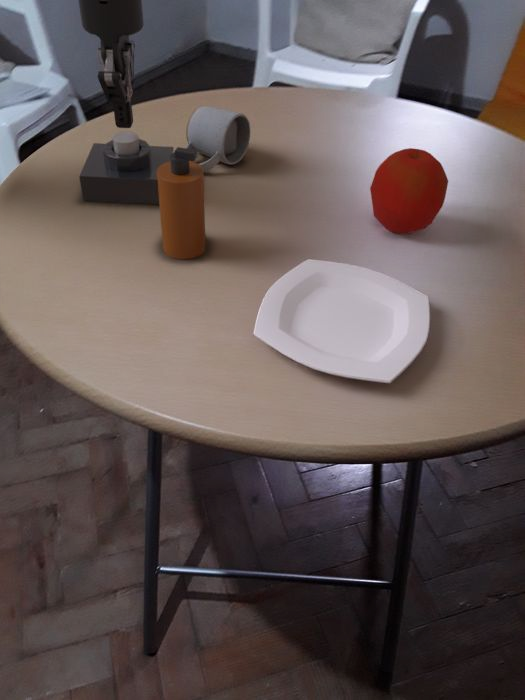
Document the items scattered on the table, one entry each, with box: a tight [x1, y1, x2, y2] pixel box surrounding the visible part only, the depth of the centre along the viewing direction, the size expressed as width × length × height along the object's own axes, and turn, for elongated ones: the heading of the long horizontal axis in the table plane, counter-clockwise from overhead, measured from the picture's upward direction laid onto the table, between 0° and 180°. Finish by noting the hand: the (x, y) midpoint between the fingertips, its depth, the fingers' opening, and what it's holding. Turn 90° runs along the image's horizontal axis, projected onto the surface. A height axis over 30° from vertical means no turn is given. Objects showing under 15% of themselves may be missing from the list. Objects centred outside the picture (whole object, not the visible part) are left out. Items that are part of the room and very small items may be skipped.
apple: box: [369, 147, 449, 235], centre depth 85 cm, size 10×10×12 cm
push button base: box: [78, 138, 175, 206], centre depth 92 cm, size 12×10×6 cm
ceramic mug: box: [185, 105, 252, 172], centre depth 98 cm, size 11×8×8 cm
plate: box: [253, 258, 431, 384], centre depth 73 cm, size 19×19×2 cm
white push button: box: [112, 130, 140, 155], centre depth 89 cm, size 4×4×2 cm
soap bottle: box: [157, 146, 206, 260], centre depth 78 cm, size 6×6×14 cm
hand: (124, 125), depth 87 cm, fingers closed
